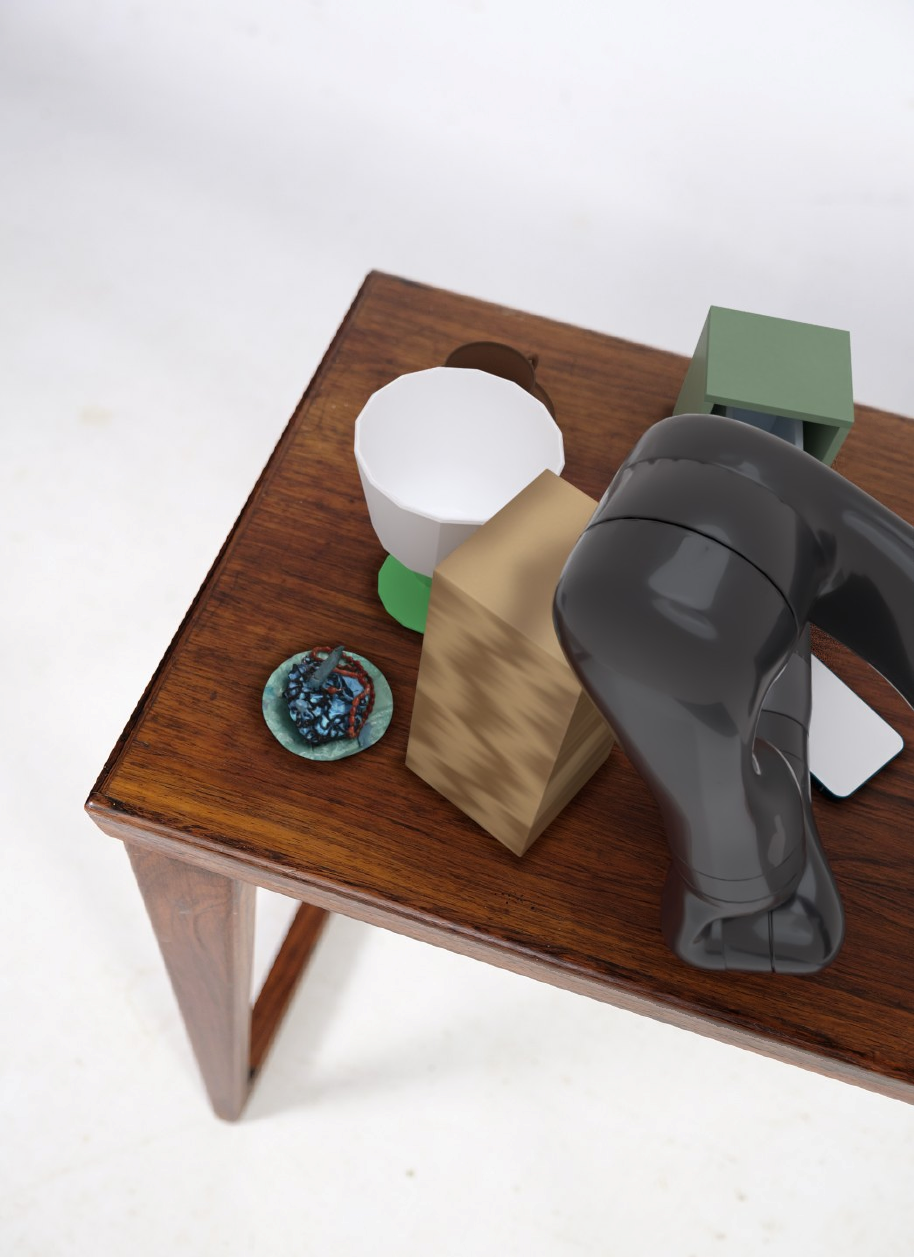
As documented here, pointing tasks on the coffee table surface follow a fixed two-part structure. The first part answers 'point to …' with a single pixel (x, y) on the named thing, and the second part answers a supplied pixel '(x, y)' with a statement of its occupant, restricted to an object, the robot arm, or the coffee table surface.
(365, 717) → the dish
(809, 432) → the cabinet
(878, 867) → the coffee table surface
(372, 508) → the cup
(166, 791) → the coffee table surface
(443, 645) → the stand
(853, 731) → the smartphone
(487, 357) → the cup and saucer
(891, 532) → the robot arm
